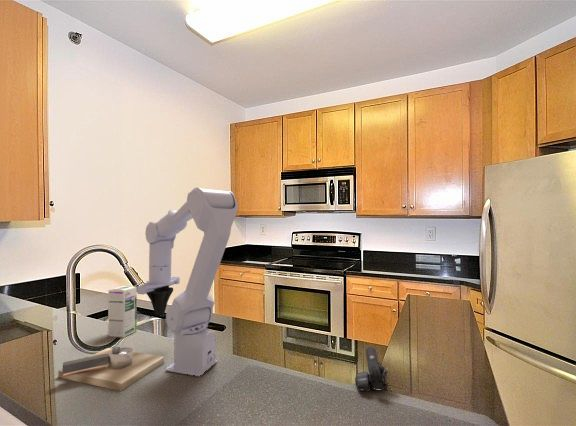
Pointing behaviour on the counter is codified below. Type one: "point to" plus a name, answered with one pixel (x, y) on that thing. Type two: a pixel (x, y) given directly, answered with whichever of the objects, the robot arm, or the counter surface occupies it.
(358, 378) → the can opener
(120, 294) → the syrup box
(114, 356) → the grey bar with knob
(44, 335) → the counter surface
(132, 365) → the cutting board
